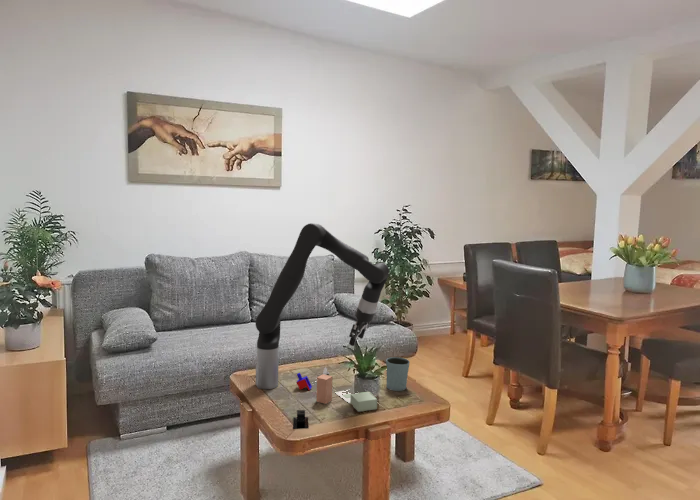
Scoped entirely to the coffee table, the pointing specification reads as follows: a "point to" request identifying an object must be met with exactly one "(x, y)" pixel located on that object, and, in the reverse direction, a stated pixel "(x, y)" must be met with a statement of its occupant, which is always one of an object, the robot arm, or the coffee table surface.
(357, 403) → the base brick
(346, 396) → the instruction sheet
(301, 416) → the black piece
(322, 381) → the terracotta brick
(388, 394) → the coffee table surface
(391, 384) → the blue-grey cup
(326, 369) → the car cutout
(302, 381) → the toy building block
